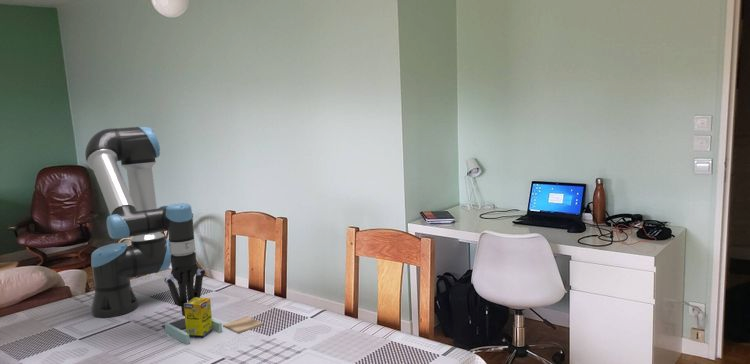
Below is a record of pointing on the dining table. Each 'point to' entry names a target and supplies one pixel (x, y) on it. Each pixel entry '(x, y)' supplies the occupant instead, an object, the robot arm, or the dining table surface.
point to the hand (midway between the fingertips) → (189, 324)
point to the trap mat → (178, 324)
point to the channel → (184, 336)
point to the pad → (242, 324)
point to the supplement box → (198, 317)
